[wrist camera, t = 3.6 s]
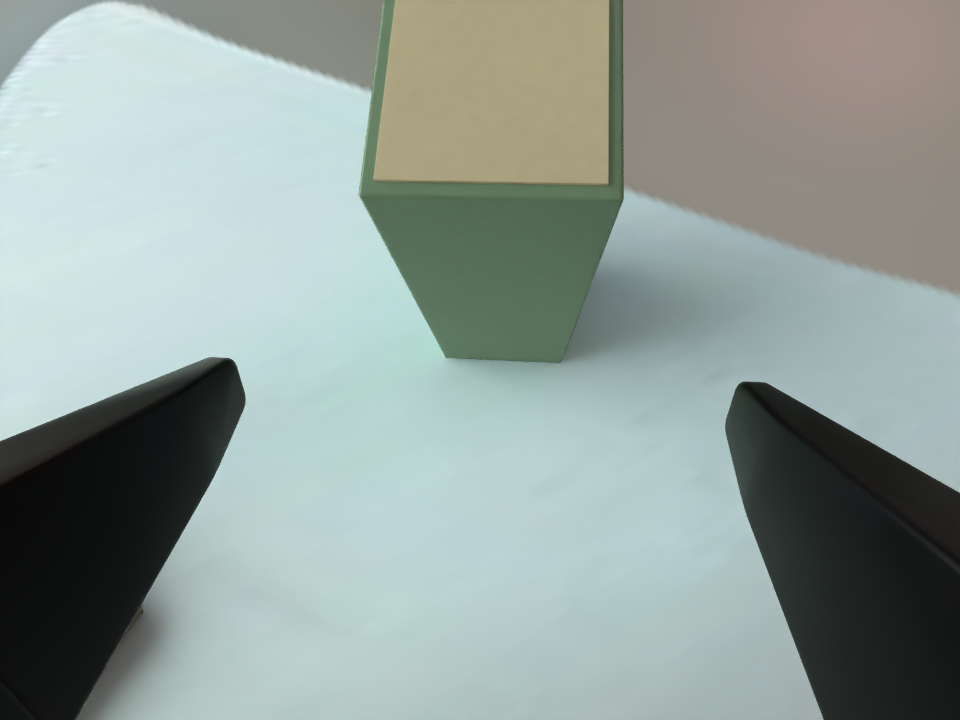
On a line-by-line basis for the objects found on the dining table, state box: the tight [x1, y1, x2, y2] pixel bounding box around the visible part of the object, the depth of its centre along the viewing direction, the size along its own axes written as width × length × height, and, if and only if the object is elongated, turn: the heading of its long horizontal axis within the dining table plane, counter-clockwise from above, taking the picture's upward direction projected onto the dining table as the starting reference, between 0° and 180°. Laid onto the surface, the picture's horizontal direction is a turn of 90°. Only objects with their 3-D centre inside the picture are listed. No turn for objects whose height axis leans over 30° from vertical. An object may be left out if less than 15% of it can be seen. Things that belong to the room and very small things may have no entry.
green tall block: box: [359, 0, 624, 363], centre depth 16 cm, size 5×5×13 cm
